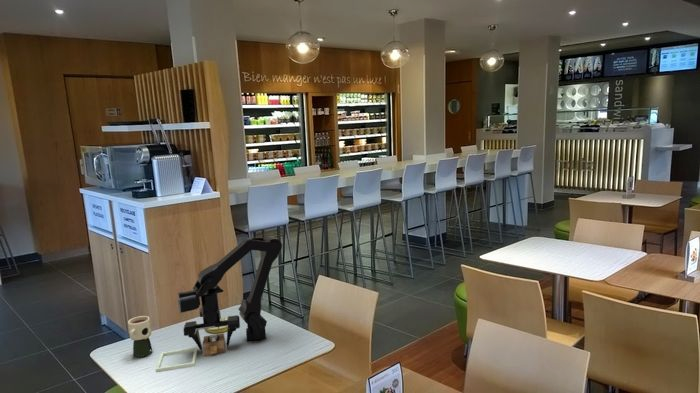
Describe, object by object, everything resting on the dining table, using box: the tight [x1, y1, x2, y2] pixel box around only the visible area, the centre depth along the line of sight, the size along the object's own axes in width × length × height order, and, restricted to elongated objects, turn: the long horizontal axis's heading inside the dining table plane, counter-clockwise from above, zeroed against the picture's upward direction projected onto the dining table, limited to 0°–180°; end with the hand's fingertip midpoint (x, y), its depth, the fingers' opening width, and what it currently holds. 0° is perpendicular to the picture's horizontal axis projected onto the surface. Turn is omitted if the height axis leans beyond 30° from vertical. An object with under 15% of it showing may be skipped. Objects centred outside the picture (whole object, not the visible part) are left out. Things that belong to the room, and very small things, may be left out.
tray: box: [155, 346, 198, 373], centre depth 160 cm, size 12×12×2 cm
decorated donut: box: [205, 317, 228, 335], centre depth 185 cm, size 10×11×4 cm
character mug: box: [127, 315, 153, 357], centre depth 167 cm, size 11×7×13 cm, turn 174°
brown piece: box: [202, 332, 226, 357], centre depth 166 cm, size 7×8×4 cm
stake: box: [201, 334, 227, 358], centre depth 167 cm, size 8×8×6 cm
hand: (214, 348), depth 167 cm, fingers open, 9 cm apart
